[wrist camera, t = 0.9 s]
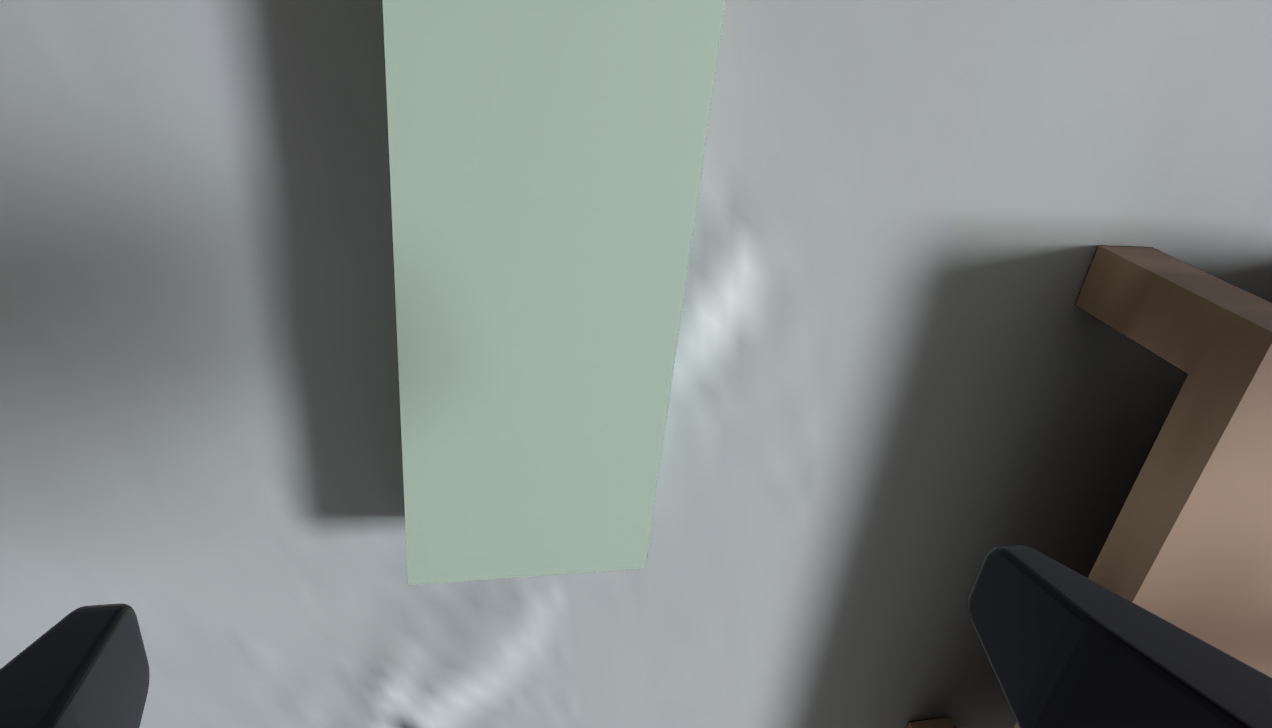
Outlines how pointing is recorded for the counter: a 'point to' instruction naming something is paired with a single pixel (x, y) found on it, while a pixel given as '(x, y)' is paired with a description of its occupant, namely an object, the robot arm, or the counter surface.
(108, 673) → the robot arm
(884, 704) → the counter surface
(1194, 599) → the bench
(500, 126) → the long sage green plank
